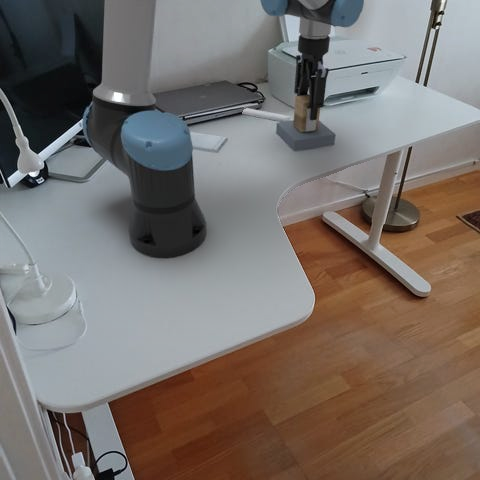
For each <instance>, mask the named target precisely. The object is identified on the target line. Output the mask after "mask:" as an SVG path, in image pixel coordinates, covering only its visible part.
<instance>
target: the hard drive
mask: <svg viewBox="0 0 480 480" xmlns="http://www.w3.org/2000/svg"><path fill="white" fill-rule="evenodd" d="M190 136H191V141H192V145H193V150H194V151H202V152H209V153H216V154H218V153H219V152H220V150H221V149H222V147H223V146H224V145H225V144H226V143H227V141H228V137H226V136H218V135H214V134H213V135H212V134H206V133H199V132H193V131H190Z"/></svg>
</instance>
